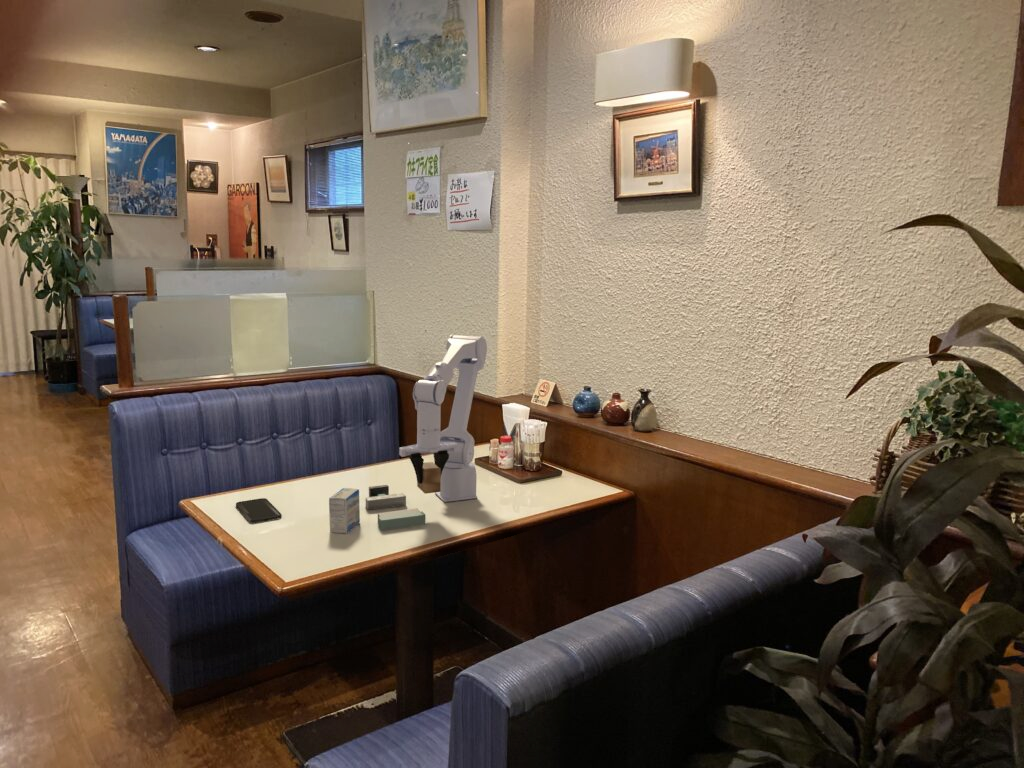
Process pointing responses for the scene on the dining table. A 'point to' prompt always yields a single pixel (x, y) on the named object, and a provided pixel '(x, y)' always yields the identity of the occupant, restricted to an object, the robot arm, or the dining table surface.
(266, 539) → the dining table surface
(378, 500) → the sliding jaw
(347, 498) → the medicine box
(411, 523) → the teal flat block
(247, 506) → the phone
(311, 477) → the dining table surface
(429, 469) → the walnut block
